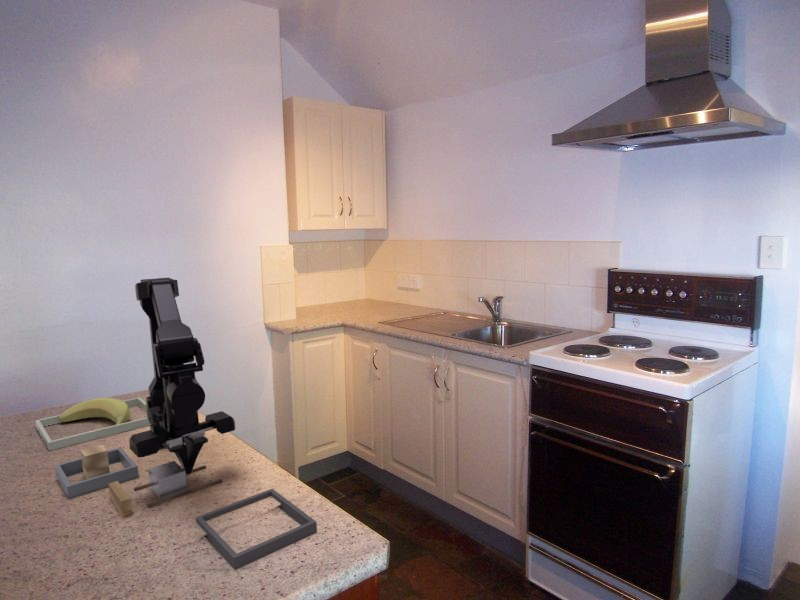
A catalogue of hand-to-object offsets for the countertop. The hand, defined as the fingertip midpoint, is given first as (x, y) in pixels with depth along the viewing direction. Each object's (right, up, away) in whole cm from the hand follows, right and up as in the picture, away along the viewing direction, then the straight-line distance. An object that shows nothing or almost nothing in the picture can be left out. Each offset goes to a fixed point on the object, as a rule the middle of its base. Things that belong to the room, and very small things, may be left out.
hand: (188, 473), depth 110 cm
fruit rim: (-37, +2, +36) cm, 51 cm away
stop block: (-20, -2, +4) cm, 21 cm away
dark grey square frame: (+17, -5, -15) cm, 23 cm away
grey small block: (-3, -2, -2) cm, 4 cm away
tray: (-20, -3, +4) cm, 21 cm away
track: (-4, -4, -3) cm, 6 cm away
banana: (-37, +2, +36) cm, 51 cm away
